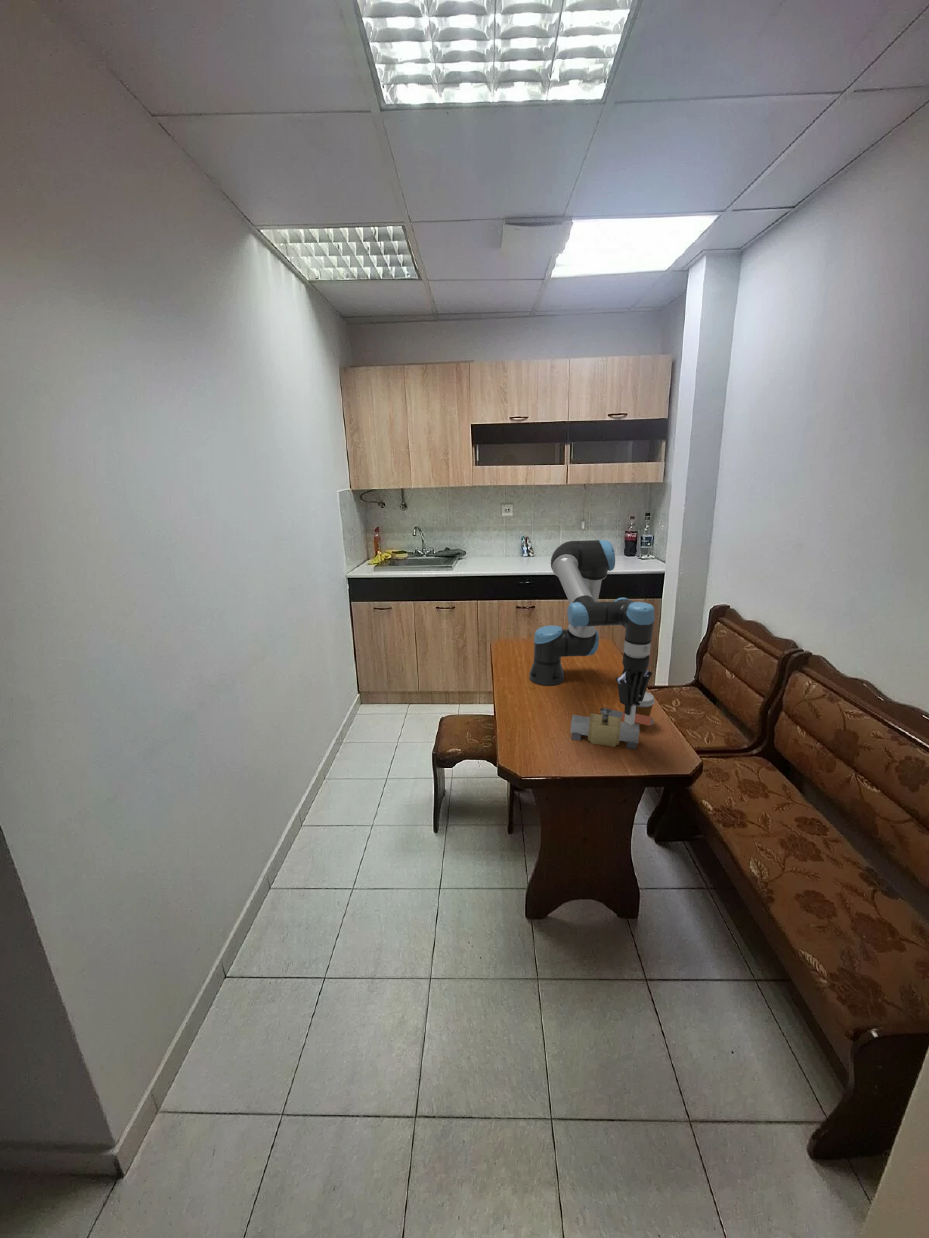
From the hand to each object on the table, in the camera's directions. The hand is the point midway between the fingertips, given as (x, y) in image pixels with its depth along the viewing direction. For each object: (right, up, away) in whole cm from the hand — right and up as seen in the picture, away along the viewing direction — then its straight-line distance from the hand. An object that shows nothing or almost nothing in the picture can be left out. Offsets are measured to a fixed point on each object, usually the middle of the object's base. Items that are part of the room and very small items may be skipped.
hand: (629, 722), depth 154 cm
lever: (+1, 0, +6) cm, 6 cm away
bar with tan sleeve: (-5, -9, +12) cm, 16 cm away
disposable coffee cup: (+10, -6, +21) cm, 24 cm away
